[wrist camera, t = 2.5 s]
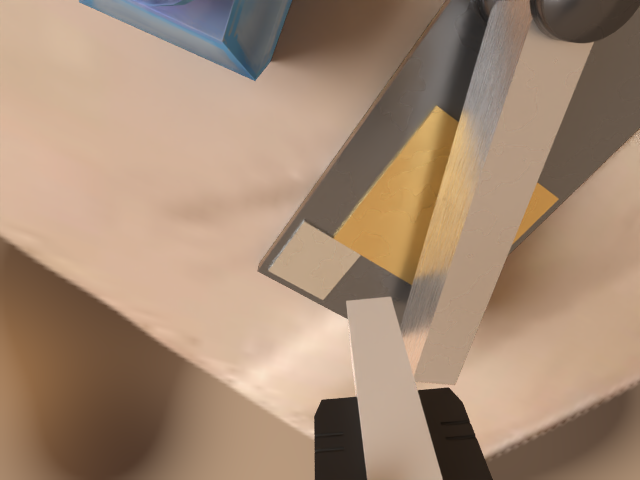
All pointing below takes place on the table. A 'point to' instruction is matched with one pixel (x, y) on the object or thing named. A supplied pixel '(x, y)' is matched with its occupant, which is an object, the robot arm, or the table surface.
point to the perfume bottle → (209, 27)
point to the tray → (437, 162)
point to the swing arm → (496, 167)
